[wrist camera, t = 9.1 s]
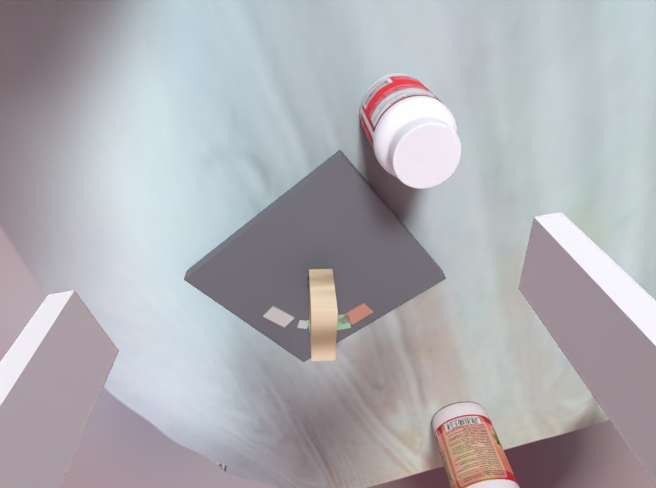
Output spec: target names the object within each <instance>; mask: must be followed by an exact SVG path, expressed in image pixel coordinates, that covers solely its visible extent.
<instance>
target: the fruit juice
mask: <svg viewBox="0 0 656 488" xmlns="http://www.w3.org/2000/svg"><path fill="white" fill-rule="evenodd" d="M432 425H433V430H434V434H435V437H436V440H437V444H438V447H439V450H440V454H441V457H442V460H443V464H444V467H445V470H446V473H447V477H448V480H449V483H450V487H451V488H519V485H518V483H517V481H516V479H515V476H514V474H513V472H512V470H511V467H510V465H509V462H508V460H507V458H506V456H505V453H504V451H503V449H502V446H501V444H500V442H499V439H498V437H497V435H496V432H495V430H494V428H493V425H492V423H491V421H490V418H489V416H488V414H487V412H486V411H485V409H484V408H483V407H482V406H481V405H479V404H476V403H472V402H461V403H455V404H452V405H449V406H447V407H444V408H443V409H441V410H440V411H438V412H437V413H436V414H435V416H434V417H433V421H432Z"/></svg>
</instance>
